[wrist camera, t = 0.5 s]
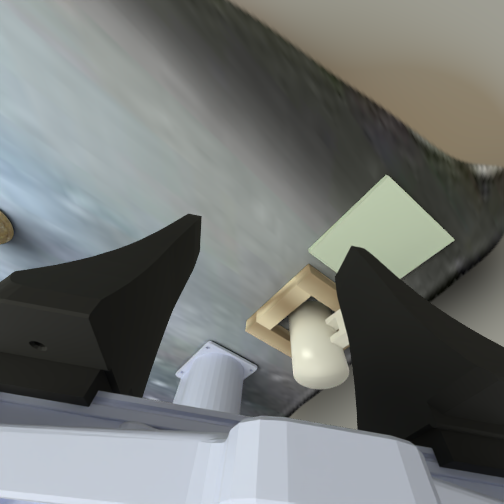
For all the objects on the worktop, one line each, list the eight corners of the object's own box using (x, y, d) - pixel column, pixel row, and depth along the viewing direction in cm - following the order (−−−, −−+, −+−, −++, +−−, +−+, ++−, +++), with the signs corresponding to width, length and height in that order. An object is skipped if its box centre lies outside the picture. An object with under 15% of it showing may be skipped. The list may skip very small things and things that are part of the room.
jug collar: (311, 358, 32) (312, 369, 30) (246, 320, 29) (245, 331, 28) (377, 313, 27) (383, 324, 26) (308, 263, 24) (310, 272, 23)
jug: (310, 337, 30) (320, 395, 24) (279, 318, 29) (282, 374, 23) (354, 306, 27) (378, 362, 21) (321, 283, 26) (338, 336, 20)
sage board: (369, 295, 26) (371, 298, 25) (308, 249, 24) (309, 252, 23) (450, 236, 22) (454, 239, 21) (386, 174, 20) (389, 176, 19)
